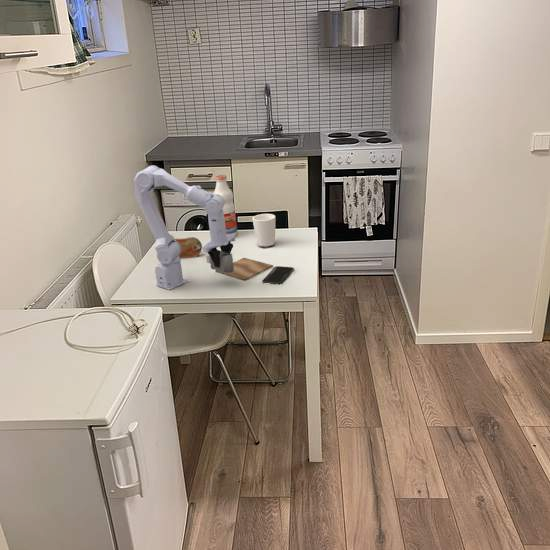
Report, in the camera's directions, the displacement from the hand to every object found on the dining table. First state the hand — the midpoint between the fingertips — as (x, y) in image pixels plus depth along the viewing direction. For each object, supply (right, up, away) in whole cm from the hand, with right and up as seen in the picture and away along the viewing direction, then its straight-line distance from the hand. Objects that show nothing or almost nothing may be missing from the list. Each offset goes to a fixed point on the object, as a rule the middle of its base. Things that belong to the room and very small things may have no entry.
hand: (221, 264), depth 207 cm
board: (+8, -2, +14) cm, 16 cm away
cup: (+16, +9, +38) cm, 42 cm away
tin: (-18, +4, +32) cm, 38 cm away
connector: (0, -2, +1) cm, 2 cm away
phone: (+21, -5, +6) cm, 22 cm away
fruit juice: (-2, +14, +53) cm, 55 cm away
